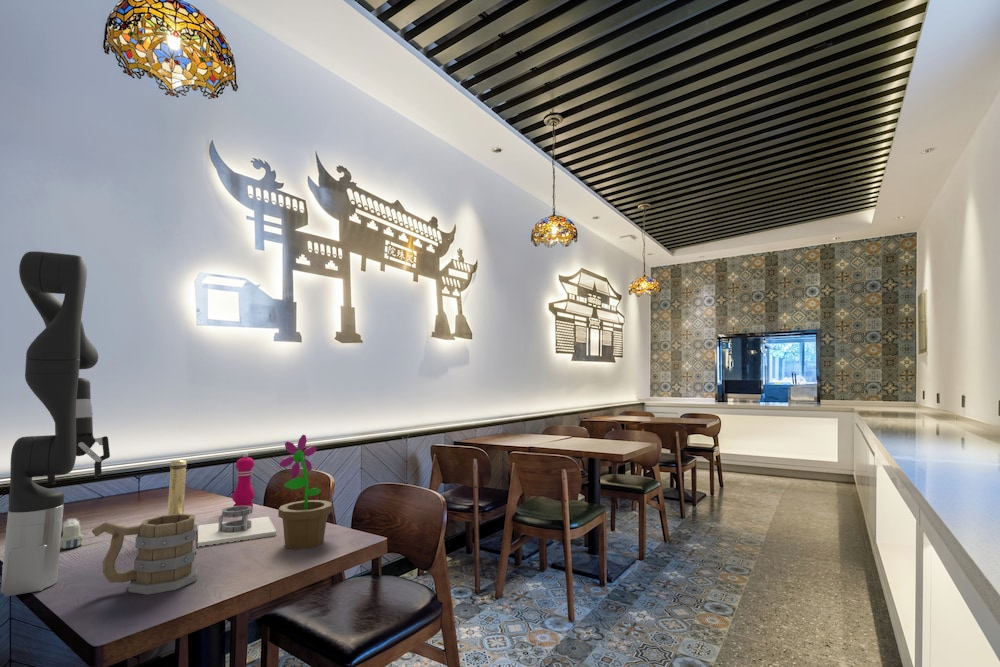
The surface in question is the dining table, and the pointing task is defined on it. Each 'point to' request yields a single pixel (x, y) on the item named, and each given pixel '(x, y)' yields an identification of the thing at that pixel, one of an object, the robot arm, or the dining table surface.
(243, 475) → the pepper mill
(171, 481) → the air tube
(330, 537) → the dining table surface
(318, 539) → the flowerpot
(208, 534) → the base
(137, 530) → the tankard
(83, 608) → the dining table surface
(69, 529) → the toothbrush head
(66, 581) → the dining table surface
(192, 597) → the dining table surface
